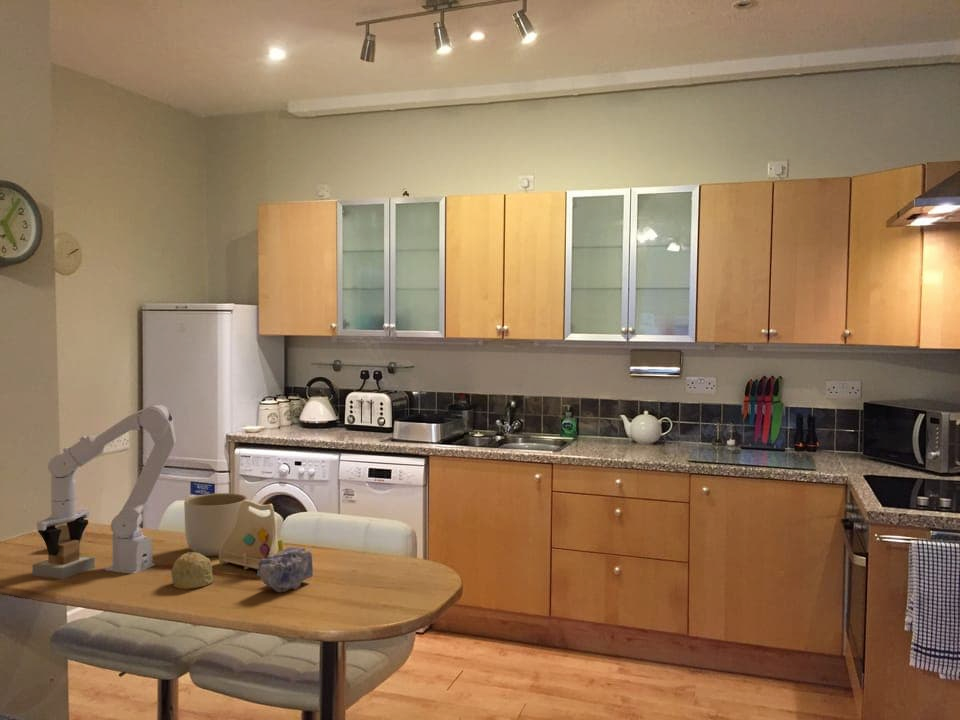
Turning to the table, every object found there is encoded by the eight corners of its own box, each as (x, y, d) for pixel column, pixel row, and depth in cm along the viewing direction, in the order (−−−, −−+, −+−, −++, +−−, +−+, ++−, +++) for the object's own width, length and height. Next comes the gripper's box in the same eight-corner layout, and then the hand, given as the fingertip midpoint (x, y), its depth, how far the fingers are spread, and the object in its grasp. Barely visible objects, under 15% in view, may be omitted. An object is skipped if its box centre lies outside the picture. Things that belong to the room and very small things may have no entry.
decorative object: (186, 592, 190) (160, 565, 187) (219, 566, 193) (195, 538, 189) (188, 607, 181) (161, 578, 178) (223, 579, 184) (197, 550, 181)
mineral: (284, 580, 191) (284, 541, 191) (315, 585, 187) (315, 545, 187) (246, 598, 178) (246, 556, 178) (278, 604, 174) (278, 561, 174)
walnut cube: (79, 559, 197) (79, 540, 196) (63, 564, 192) (63, 545, 192) (64, 557, 198) (64, 538, 198) (48, 562, 193) (48, 543, 193)
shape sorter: (298, 568, 201) (299, 503, 200) (268, 579, 192) (268, 510, 191) (248, 556, 211) (248, 494, 211) (217, 566, 202) (217, 501, 202)
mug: (91, 539, 224) (90, 517, 218) (70, 564, 216) (68, 541, 210) (68, 531, 224) (66, 508, 219) (46, 555, 216) (44, 532, 210)
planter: (209, 564, 203) (210, 508, 203) (171, 553, 213) (171, 500, 212) (259, 549, 218) (259, 497, 217) (221, 540, 227) (221, 490, 226)
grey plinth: (94, 568, 198) (94, 557, 198) (63, 580, 189) (63, 568, 189) (64, 565, 201) (64, 554, 201) (32, 576, 192) (32, 564, 192)
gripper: (74, 492, 202) (74, 542, 203) (27, 503, 189) (27, 557, 189) (95, 494, 200) (95, 544, 201) (49, 506, 186) (49, 560, 187)
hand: (64, 551), depth 195 cm, fingers open, 6 cm apart
